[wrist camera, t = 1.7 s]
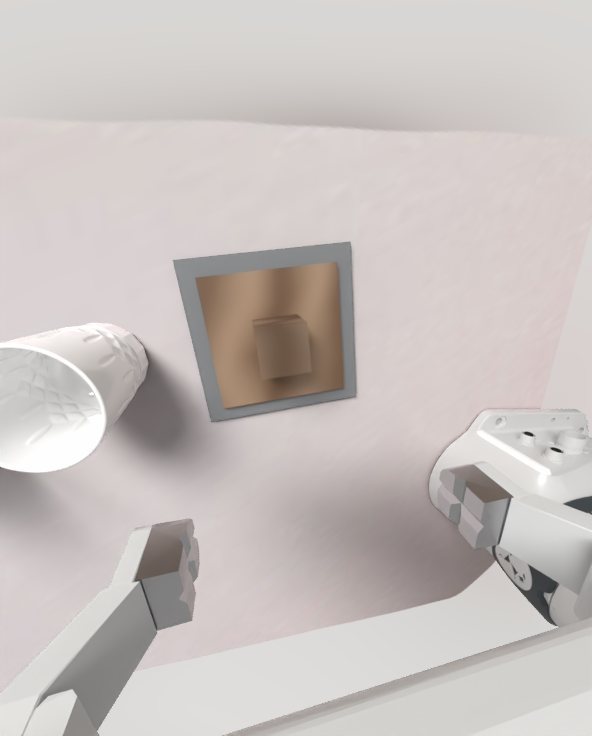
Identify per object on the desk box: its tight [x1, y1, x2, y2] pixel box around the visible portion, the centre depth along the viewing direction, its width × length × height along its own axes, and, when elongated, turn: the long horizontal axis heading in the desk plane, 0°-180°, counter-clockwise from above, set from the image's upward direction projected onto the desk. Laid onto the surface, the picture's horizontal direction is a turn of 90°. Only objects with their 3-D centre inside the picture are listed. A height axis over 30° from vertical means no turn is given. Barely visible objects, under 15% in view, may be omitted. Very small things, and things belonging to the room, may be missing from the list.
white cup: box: [0, 323, 149, 473], centre depth 20 cm, size 8×8×10 cm
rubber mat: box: [173, 242, 356, 422], centre depth 27 cm, size 15×15×1 cm
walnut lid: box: [195, 262, 344, 409], centre depth 24 cm, size 12×12×5 cm
